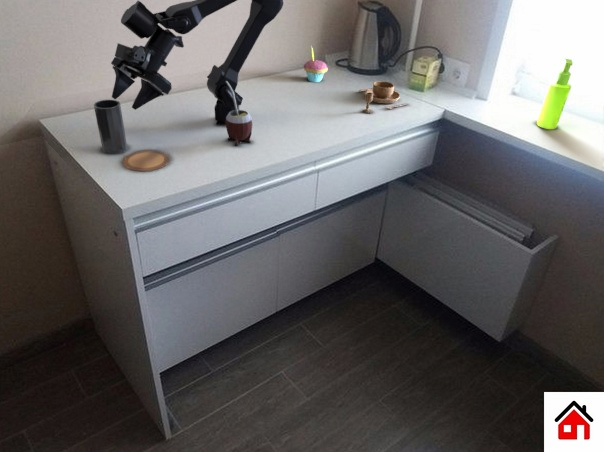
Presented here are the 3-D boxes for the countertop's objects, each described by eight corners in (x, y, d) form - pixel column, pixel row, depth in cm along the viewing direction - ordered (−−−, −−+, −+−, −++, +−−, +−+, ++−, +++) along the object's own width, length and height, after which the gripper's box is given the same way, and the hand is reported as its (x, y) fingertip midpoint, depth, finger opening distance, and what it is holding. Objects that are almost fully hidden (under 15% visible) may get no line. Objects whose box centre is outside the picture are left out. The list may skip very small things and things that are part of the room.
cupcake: (301, 82, 178) (303, 48, 171) (305, 75, 185) (307, 42, 178) (325, 84, 177) (327, 50, 170) (327, 77, 184) (330, 44, 177)
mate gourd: (248, 148, 131) (247, 93, 123) (219, 144, 132) (217, 89, 124) (255, 137, 137) (255, 83, 129) (228, 133, 138) (226, 80, 130)
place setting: (413, 104, 165) (416, 87, 162) (367, 114, 155) (369, 96, 152) (378, 88, 177) (380, 71, 174) (333, 97, 167) (335, 79, 164)
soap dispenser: (555, 122, 158) (578, 59, 147) (557, 130, 152) (580, 65, 141) (535, 119, 159) (557, 56, 148) (536, 127, 154) (558, 62, 143)
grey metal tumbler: (130, 144, 130) (122, 100, 123) (123, 154, 125) (115, 109, 118) (106, 143, 129) (98, 99, 123) (99, 153, 124) (90, 108, 118)
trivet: (173, 151, 127) (173, 151, 127) (163, 172, 118) (163, 171, 118) (129, 150, 127) (129, 149, 127) (117, 170, 118) (117, 169, 118)
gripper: (112, 22, 122) (78, 75, 122) (155, 38, 112) (119, 96, 112) (143, 50, 132) (112, 99, 131) (186, 67, 122) (153, 120, 121)
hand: (123, 103), depth 123 cm, fingers open, 9 cm apart
